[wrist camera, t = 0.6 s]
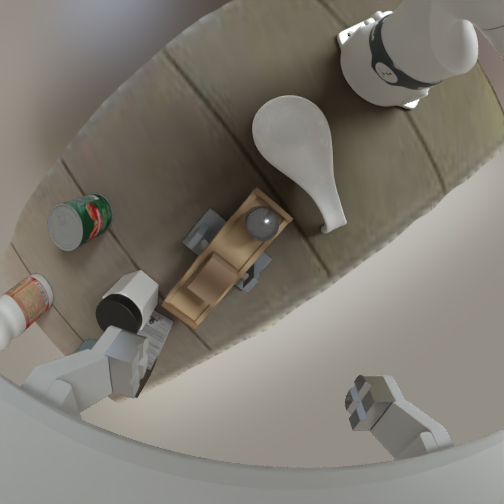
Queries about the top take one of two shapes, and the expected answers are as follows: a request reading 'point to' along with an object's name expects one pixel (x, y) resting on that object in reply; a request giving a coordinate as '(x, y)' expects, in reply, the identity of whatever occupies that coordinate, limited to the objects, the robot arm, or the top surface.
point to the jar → (128, 303)
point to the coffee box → (154, 341)
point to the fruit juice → (23, 307)
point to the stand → (207, 231)
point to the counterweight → (261, 223)
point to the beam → (230, 248)
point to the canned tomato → (79, 221)
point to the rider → (213, 278)
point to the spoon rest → (301, 151)
